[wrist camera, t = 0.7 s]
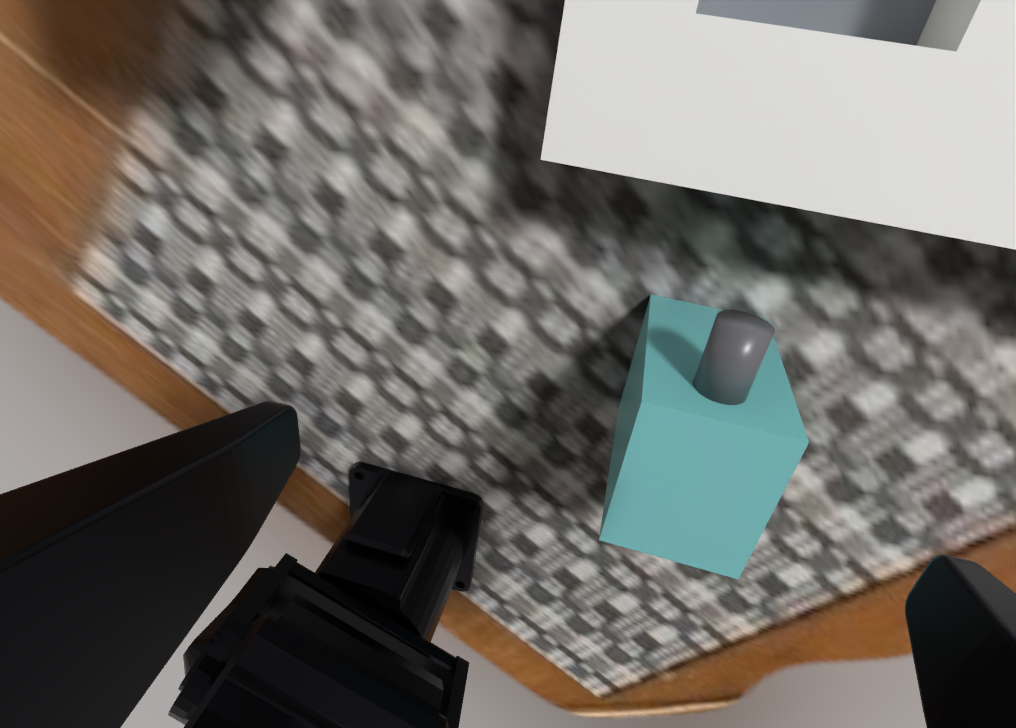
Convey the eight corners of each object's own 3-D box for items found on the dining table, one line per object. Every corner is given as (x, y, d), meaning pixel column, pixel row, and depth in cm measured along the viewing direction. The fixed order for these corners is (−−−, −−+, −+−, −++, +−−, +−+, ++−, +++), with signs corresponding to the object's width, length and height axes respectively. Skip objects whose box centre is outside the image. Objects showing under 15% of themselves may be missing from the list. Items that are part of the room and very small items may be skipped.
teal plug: (720, 434, 22) (738, 579, 16) (618, 409, 23) (598, 539, 17) (790, 264, 19) (845, 372, 13) (666, 239, 19) (663, 330, 13)
